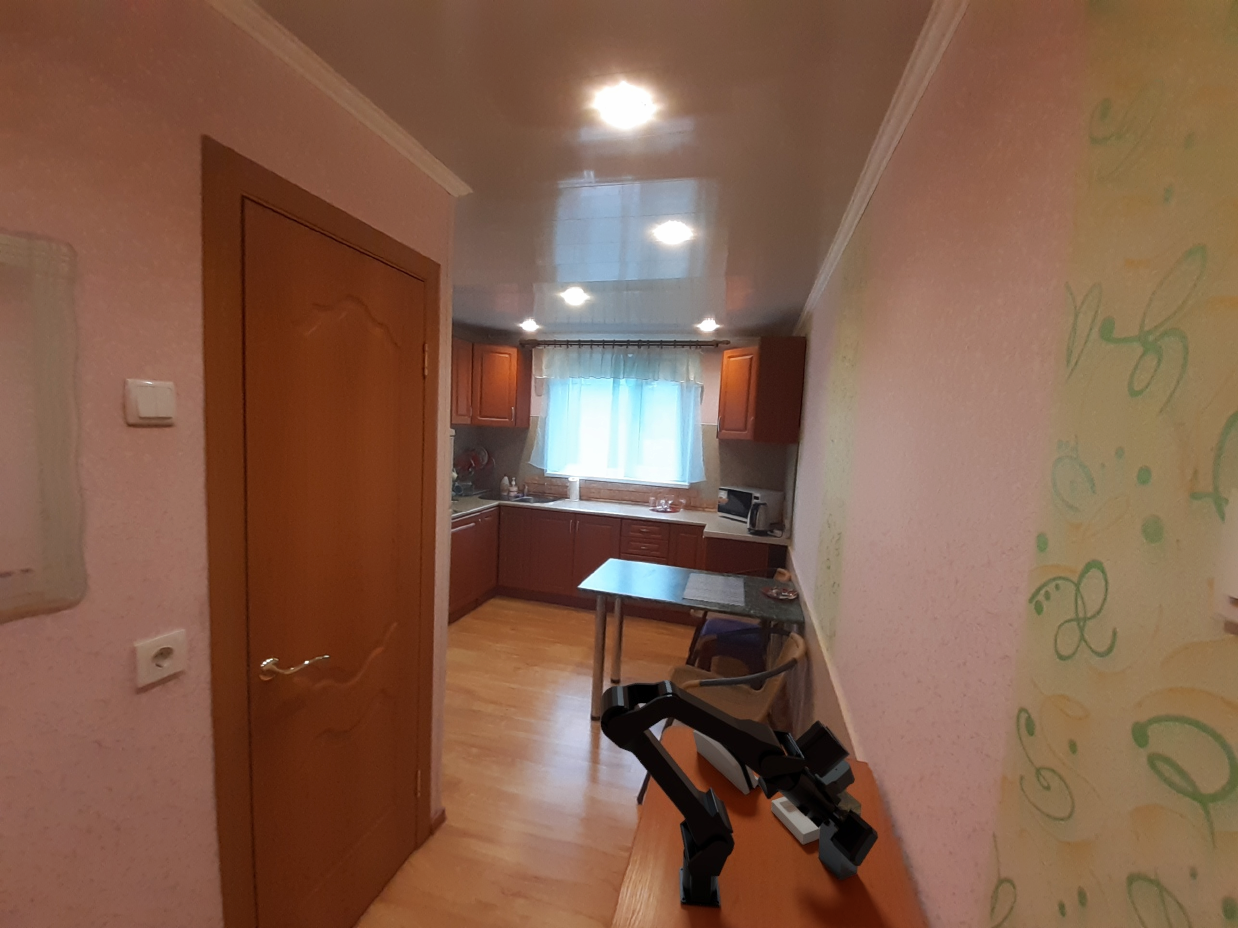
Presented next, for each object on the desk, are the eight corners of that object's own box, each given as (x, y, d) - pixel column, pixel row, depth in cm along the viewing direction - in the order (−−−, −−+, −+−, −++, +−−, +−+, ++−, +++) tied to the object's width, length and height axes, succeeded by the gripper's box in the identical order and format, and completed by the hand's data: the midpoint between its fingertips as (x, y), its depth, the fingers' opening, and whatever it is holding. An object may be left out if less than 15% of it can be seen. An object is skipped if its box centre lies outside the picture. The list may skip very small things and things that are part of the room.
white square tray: (839, 830, 98) (839, 820, 98) (802, 844, 95) (803, 834, 95) (805, 798, 107) (806, 789, 106) (771, 810, 103) (771, 800, 103)
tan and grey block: (857, 873, 89) (861, 803, 88) (839, 880, 88) (843, 810, 86) (835, 850, 94) (838, 784, 93) (818, 857, 92) (822, 790, 91)
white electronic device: (763, 786, 110) (753, 750, 107) (747, 801, 108) (737, 764, 105) (712, 743, 124) (702, 710, 122) (698, 755, 122) (687, 722, 120)
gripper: (872, 782, 79) (918, 828, 84) (789, 716, 96) (831, 758, 101) (831, 845, 76) (880, 888, 81) (753, 766, 93) (798, 806, 99)
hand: (845, 828), depth 91 cm, fingers closed on tan and grey block, 5 cm apart
